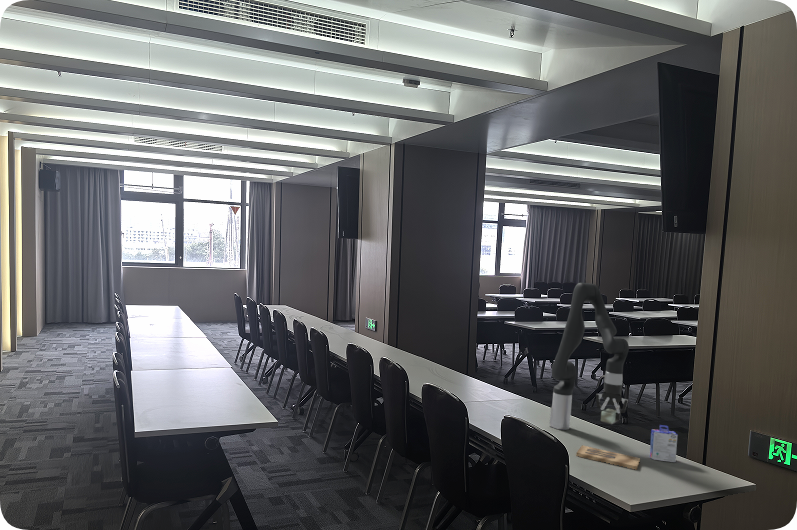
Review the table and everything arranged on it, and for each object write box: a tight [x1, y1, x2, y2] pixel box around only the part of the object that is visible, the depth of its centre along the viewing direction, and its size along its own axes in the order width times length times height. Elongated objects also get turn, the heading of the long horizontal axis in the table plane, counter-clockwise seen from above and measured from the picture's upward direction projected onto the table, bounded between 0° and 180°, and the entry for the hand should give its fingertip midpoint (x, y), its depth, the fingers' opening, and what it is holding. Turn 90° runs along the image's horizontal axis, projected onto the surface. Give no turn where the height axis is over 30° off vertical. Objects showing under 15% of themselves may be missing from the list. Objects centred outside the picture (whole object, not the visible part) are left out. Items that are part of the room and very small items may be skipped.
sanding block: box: [600, 408, 620, 425], centre depth 248 cm, size 5×9×4 cm, turn 140°
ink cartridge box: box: [649, 424, 679, 463], centre depth 241 cm, size 10×6×14 cm, turn 78°
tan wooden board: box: [575, 445, 641, 471], centre depth 236 cm, size 24×12×2 cm, turn 60°
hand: (609, 419), depth 248 cm, fingers closed on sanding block, 5 cm apart
